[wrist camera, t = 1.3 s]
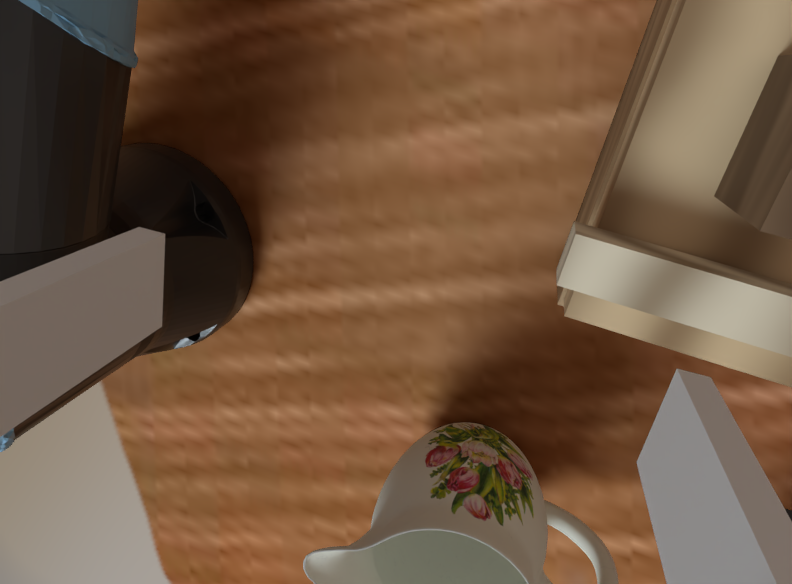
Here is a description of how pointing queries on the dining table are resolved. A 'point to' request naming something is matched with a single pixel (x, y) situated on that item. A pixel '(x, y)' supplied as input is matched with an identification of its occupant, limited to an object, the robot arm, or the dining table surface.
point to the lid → (708, 167)
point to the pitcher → (458, 519)
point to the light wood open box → (624, 115)
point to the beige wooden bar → (678, 287)
